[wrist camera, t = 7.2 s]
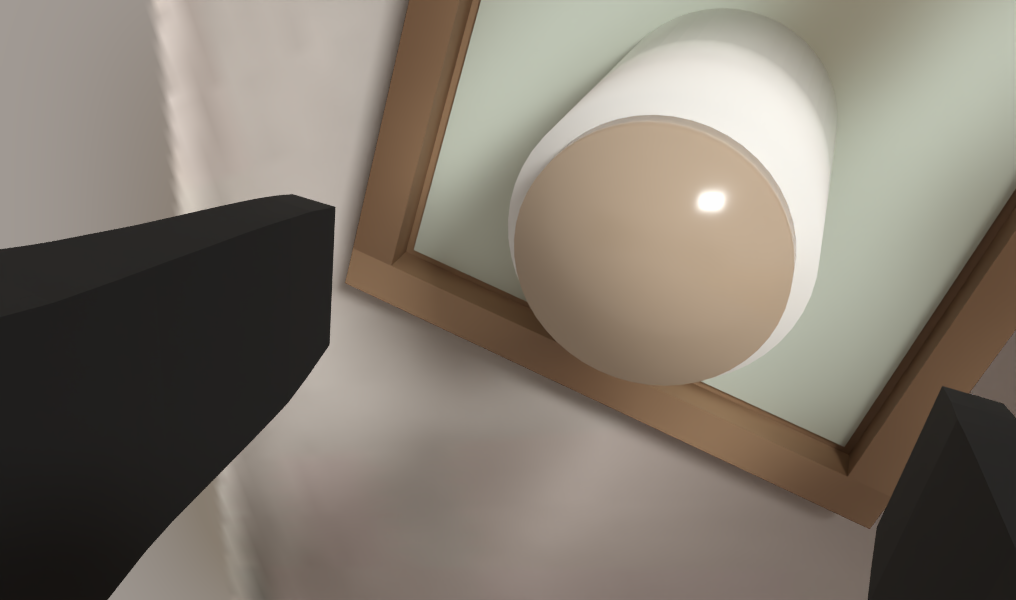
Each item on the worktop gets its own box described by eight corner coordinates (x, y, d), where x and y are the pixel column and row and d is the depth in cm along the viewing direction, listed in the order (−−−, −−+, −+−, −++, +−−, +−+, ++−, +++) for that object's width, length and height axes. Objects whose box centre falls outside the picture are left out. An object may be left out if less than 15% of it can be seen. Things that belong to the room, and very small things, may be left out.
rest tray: (1285, -88, 14) (1313, -79, 13) (870, 494, 21) (870, 529, 20) (516, -353, 16) (491, -363, 15) (368, 261, 23) (345, 282, 22)
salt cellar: (874, 42, 17) (869, 161, 11) (793, 257, 19) (757, 444, 13) (636, -18, 18) (523, 64, 12) (585, 194, 20) (472, 345, 14)
